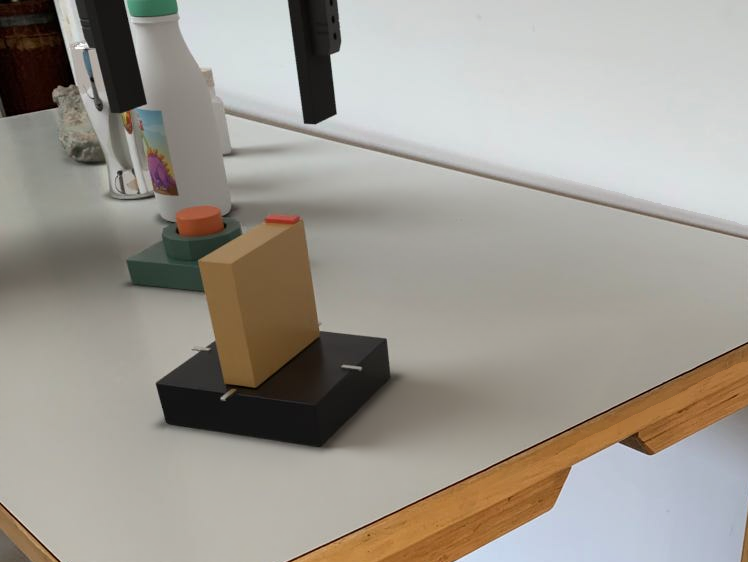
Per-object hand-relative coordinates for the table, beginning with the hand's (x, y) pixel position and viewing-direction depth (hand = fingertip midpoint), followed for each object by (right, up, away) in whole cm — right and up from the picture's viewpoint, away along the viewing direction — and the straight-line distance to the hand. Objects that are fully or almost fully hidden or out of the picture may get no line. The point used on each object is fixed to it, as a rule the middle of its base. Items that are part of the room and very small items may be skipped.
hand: (222, 114), depth 60 cm
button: (-9, +5, +29) cm, 31 cm away
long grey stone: (-38, +39, +78) cm, 95 cm away
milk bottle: (-15, +14, +46) cm, 51 cm away
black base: (+2, -15, +10) cm, 18 cm away
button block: (-9, +2, +31) cm, 33 cm away
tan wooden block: (+2, -13, +8) cm, 15 cm away
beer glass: (-24, +20, +54) cm, 62 cm away
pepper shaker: (-19, +31, +67) cm, 76 cm away
